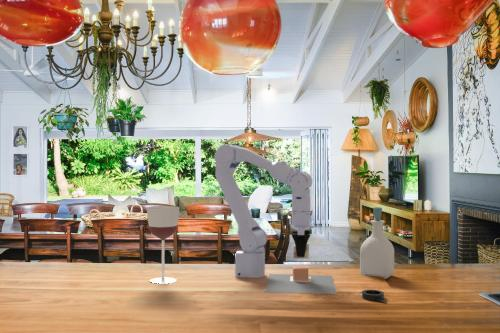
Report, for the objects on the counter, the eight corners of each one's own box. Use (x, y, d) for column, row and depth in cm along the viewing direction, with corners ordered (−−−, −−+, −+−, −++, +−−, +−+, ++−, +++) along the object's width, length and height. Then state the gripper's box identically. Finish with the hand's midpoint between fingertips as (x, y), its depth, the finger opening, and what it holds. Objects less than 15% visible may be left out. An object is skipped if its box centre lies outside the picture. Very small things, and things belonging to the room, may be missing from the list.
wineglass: (181, 282, 156) (181, 208, 156) (148, 285, 153) (148, 209, 152) (176, 276, 165) (176, 205, 164) (145, 278, 162) (145, 206, 161)
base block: (293, 280, 154) (293, 268, 154) (293, 276, 159) (293, 265, 159) (308, 280, 154) (308, 269, 154) (308, 277, 158) (308, 265, 158)
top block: (293, 258, 154) (293, 246, 154) (293, 255, 159) (293, 243, 159) (308, 258, 154) (308, 246, 154) (308, 255, 158) (308, 244, 158)
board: (264, 296, 142) (264, 291, 142) (269, 277, 163) (269, 273, 163) (336, 298, 140) (336, 293, 140) (331, 279, 161) (331, 275, 161)
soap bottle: (395, 275, 168) (396, 206, 167) (387, 281, 159) (388, 209, 159) (367, 271, 173) (367, 205, 172) (358, 277, 164) (358, 207, 164)
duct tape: (360, 308, 132) (360, 297, 132) (356, 297, 142) (356, 287, 142) (390, 309, 131) (390, 298, 131) (384, 298, 141) (384, 288, 141)
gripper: (314, 213, 148) (314, 260, 149) (313, 208, 163) (313, 250, 163) (290, 213, 149) (290, 259, 149) (291, 208, 164) (291, 250, 164)
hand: (300, 255), depth 156 cm, fingers closed on top block, 5 cm apart
